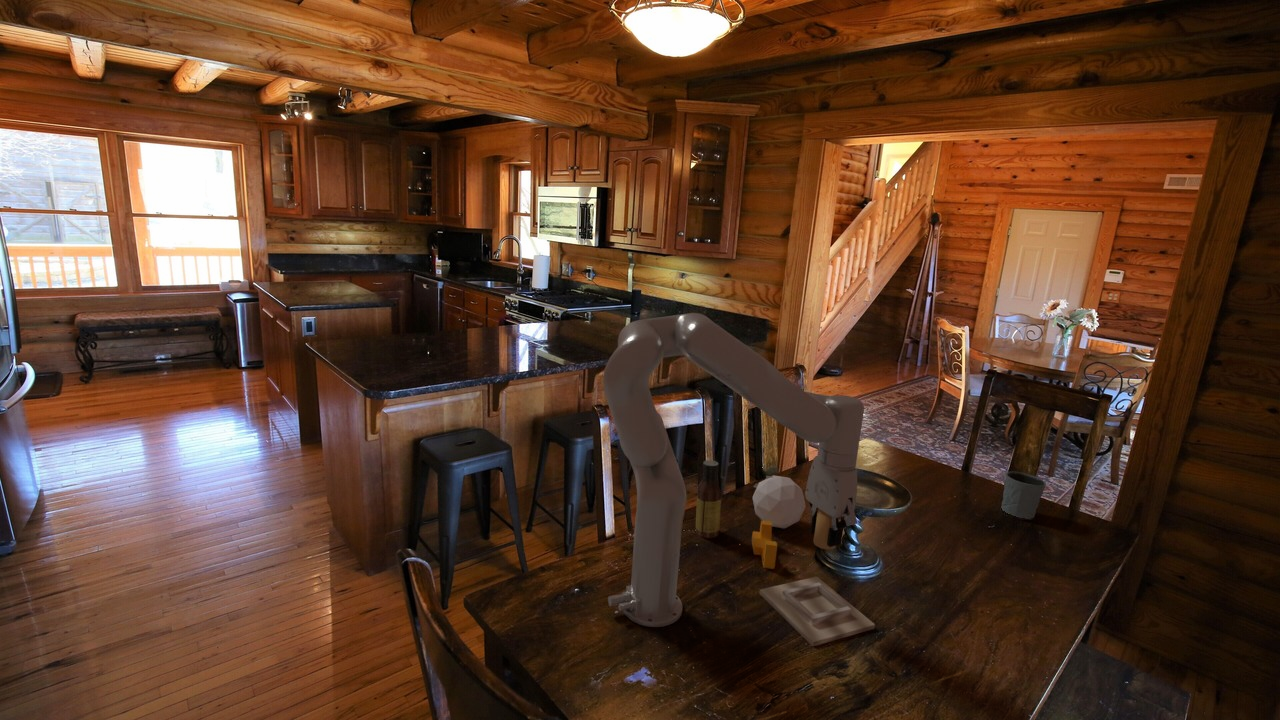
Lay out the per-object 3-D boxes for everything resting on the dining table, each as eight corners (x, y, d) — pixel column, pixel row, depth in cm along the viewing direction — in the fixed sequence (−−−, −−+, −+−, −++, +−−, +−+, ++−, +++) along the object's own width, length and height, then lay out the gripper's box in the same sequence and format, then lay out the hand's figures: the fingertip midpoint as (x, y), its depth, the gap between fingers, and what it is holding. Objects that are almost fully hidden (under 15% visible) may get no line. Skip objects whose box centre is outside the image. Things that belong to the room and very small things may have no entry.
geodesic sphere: (738, 526, 161) (743, 477, 158) (756, 507, 173) (762, 461, 170) (791, 544, 154) (798, 493, 151) (807, 523, 166) (814, 475, 163)
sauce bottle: (722, 532, 157) (729, 462, 153) (712, 542, 152) (719, 470, 148) (700, 524, 161) (706, 456, 156) (689, 534, 156) (696, 463, 151)
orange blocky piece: (751, 542, 154) (754, 519, 152) (768, 544, 153) (771, 521, 152) (755, 568, 142) (758, 543, 141) (774, 570, 142) (777, 545, 140)
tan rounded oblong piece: (824, 551, 121) (829, 515, 119) (808, 540, 125) (813, 505, 123) (840, 547, 123) (845, 511, 121) (824, 536, 127) (829, 502, 125)
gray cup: (990, 507, 184) (998, 470, 181) (1020, 507, 185) (1028, 471, 182) (1014, 523, 174) (1022, 485, 171) (1045, 523, 175) (1054, 485, 173)
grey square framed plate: (812, 646, 116) (814, 634, 115) (759, 593, 132) (760, 583, 131) (874, 628, 122) (876, 617, 122) (816, 580, 138) (817, 570, 138)
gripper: (795, 443, 125) (785, 522, 129) (852, 475, 110) (839, 563, 114) (823, 440, 128) (812, 517, 132) (882, 471, 113) (869, 557, 117)
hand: (825, 538), depth 123 cm, fingers closed on tan rounded oblong piece, 4 cm apart
